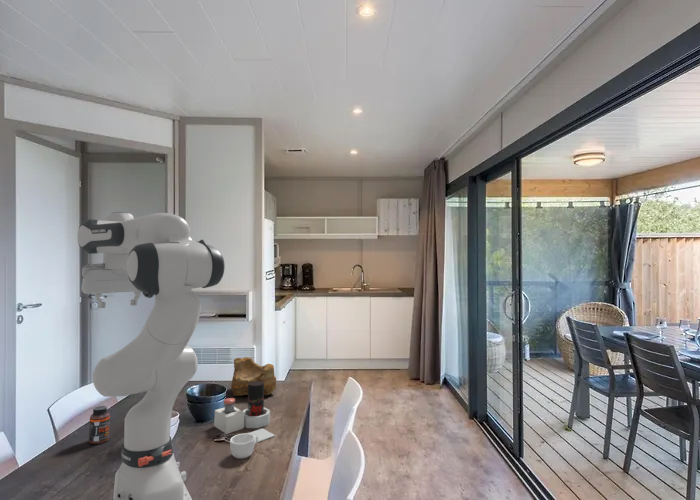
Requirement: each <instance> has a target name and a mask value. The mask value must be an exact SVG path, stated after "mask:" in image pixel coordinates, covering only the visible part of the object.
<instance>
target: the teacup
mask: <svg viewBox="0 0 700 500" xmlns="http://www.w3.org/2000/svg"><path fill="white" fill-rule="evenodd" d="M248 433H249V432H248ZM248 433H246V432H245V433H243V432H242V433H239V434H235V435H234V436H232V437H231V438H230V440H229V445H230V446H229V447H230V453H231V454H232V456H233V458H236V459H240V460H241V459H243V460H244V459H246V458H248V457H250V456H251V455H252V454H253V453H254V448H255V445H256V444H258V443H257V441H258V437H257V436H254V435H252V434H248ZM255 437H256V441H255Z"/></svg>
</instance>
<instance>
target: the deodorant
mask: <svg viewBox="0 0 700 500" xmlns="http://www.w3.org/2000/svg"><path fill="white" fill-rule="evenodd" d="M264 401H265V395H264V382H262V381H252V382H249V383H248V395H247V409H248V416H261V415H264V407H265V406H264V405H265V403H264Z"/></svg>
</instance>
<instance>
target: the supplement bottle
mask: <svg viewBox="0 0 700 500" xmlns="http://www.w3.org/2000/svg"><path fill="white" fill-rule="evenodd" d="M110 417H111V415H110V412H108V407H107V405H98V406H95V407H93V411H92V414H91V415H90V416H89V431H88V442H89V444H92V445H100V444H103V443H105V442H107V441H108V440H109V439H110V431H111V430H110V425H111V424H110V423H111V422H110V421H111V420H110V419H111V418H110Z"/></svg>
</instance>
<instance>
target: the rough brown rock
mask: <svg viewBox="0 0 700 500" xmlns="http://www.w3.org/2000/svg"><path fill="white" fill-rule="evenodd" d="M233 368H234V369H233V375H232V380H231V384H230V388H231V389H230V390H231V391H232V396H233V397H241V396H246V395H247V396H248V383H249V382H252V381H262V382H264V396H268V395H271V394H272V393H274V392H275V390H276V389H277V377H276V375H275V367H274V365H273V364H271V363H266V364H264V365H260V364H258V363H256V362H255V361H254V359H253V358H252V357H247V356H245V357H243V358H241V357H237V358H235V359H233Z"/></svg>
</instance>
